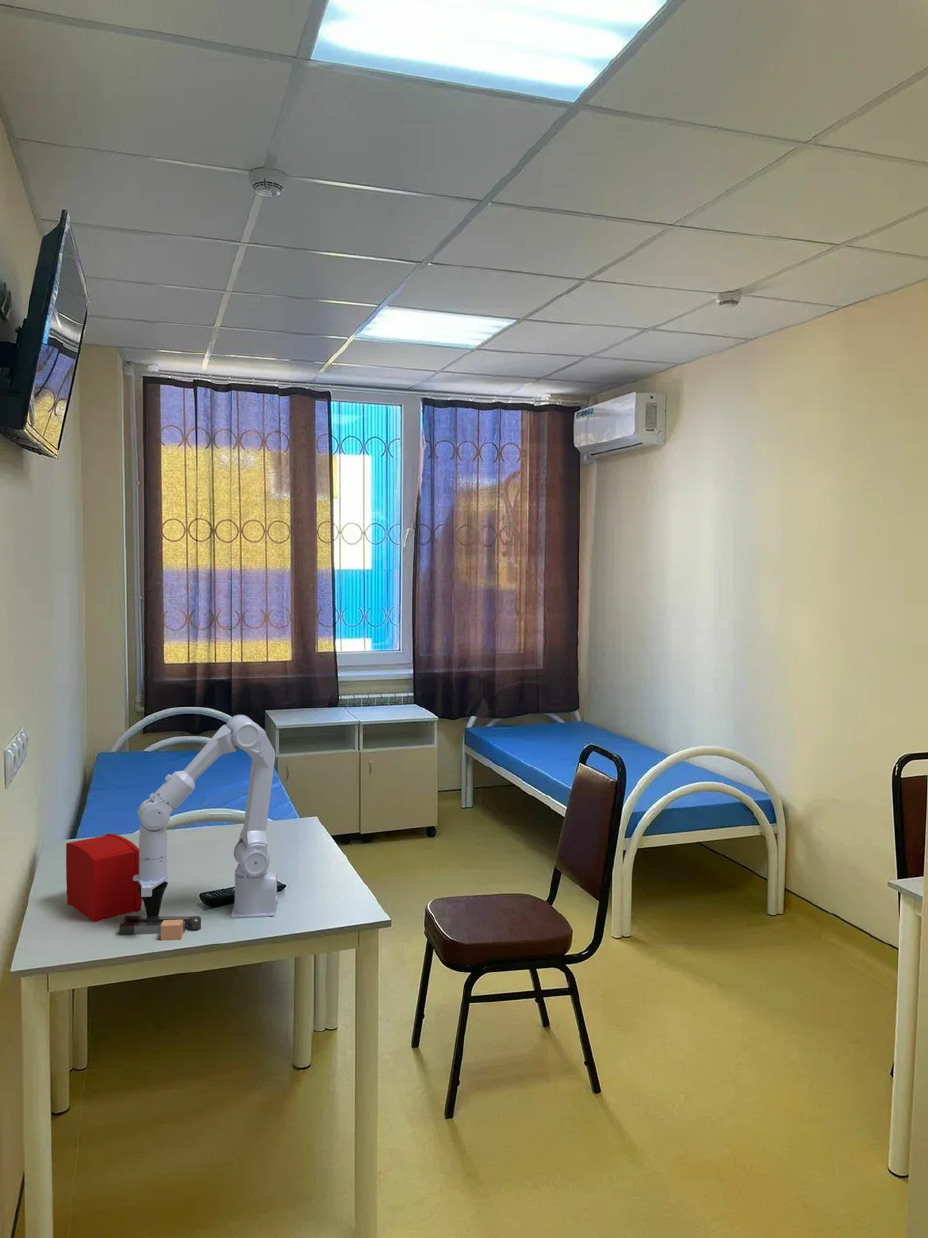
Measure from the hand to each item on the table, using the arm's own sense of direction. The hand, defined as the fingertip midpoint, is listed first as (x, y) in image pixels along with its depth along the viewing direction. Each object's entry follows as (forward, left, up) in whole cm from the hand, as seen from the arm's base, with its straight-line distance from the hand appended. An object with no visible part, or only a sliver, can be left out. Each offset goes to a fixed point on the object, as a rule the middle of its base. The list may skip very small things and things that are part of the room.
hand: (152, 917), depth 191 cm
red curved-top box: (+13, -12, -2) cm, 18 cm away
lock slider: (-5, +7, -2) cm, 9 cm away
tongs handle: (-1, +4, -2) cm, 5 cm away
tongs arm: (-2, +2, -2) cm, 4 cm away
